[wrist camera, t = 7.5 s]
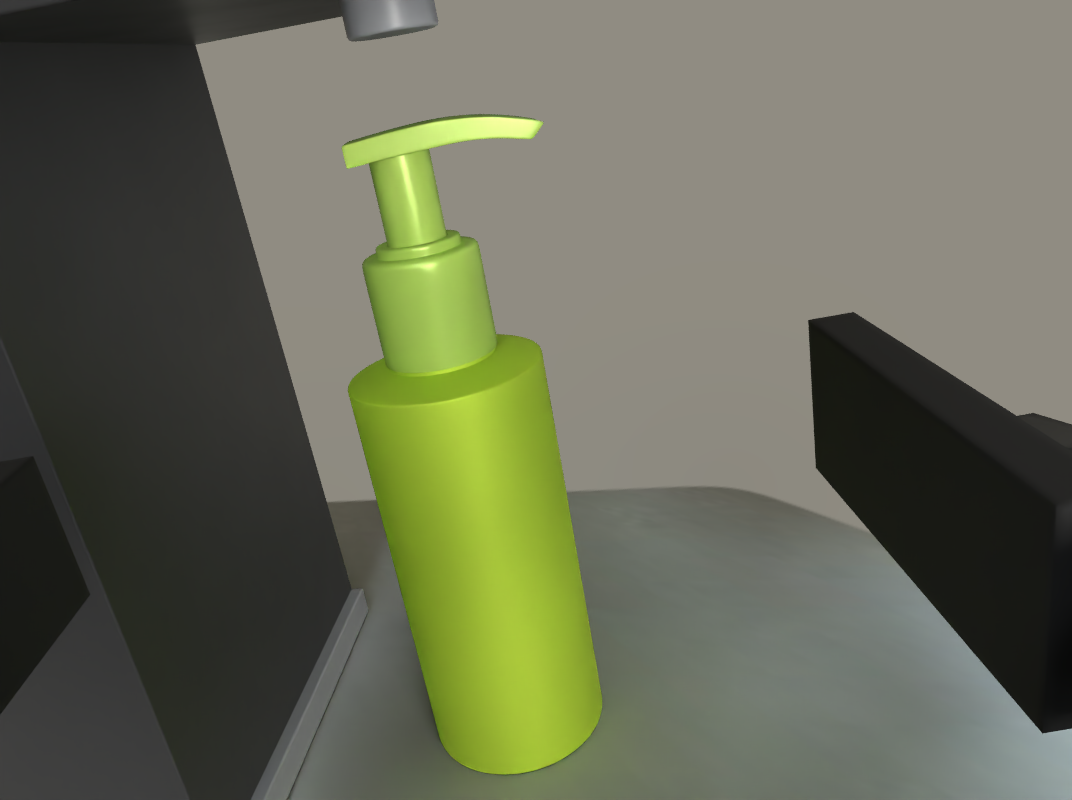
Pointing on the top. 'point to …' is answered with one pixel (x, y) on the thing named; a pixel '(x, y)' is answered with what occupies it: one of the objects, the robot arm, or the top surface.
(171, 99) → the coffee maker
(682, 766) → the top surface
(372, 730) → the top surface
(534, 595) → the soap dispenser
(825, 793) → the top surface
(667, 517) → the top surface
